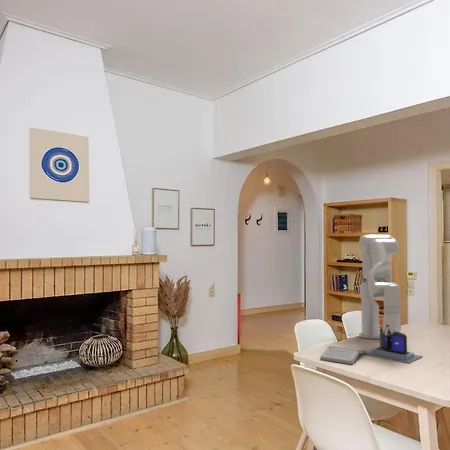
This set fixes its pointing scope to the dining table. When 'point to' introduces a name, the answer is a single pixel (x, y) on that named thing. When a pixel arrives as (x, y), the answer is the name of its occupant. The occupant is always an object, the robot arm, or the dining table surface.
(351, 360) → the gadget
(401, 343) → the leaning round-cornered charcoal block
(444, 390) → the dining table surface
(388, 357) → the switch cradle
